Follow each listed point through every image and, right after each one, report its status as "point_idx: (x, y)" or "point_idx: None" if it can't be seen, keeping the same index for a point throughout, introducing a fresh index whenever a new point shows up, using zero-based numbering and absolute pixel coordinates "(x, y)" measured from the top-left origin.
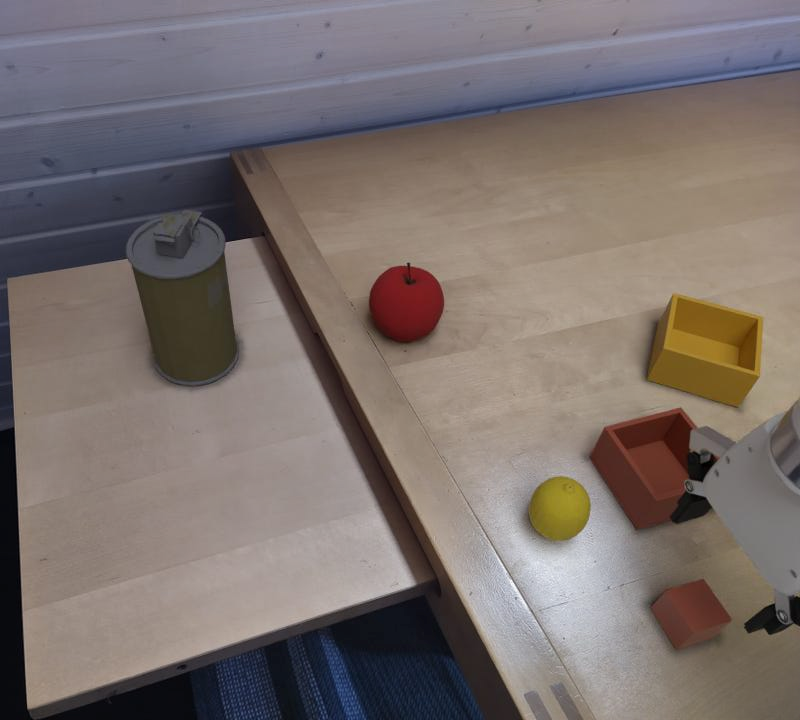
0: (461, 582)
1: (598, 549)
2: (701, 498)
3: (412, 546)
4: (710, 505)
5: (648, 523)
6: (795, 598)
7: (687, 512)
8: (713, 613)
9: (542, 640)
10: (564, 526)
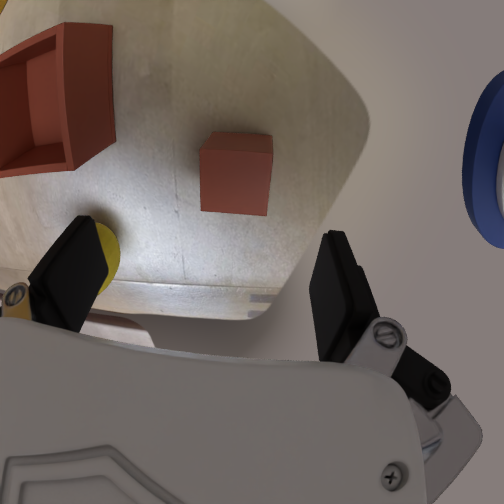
0: (152, 311)
1: (132, 196)
2: (64, 319)
3: (122, 321)
4: (71, 255)
5: (109, 132)
6: (349, 353)
7: (90, 297)
8: (253, 172)
9: (212, 289)
10: (107, 283)
